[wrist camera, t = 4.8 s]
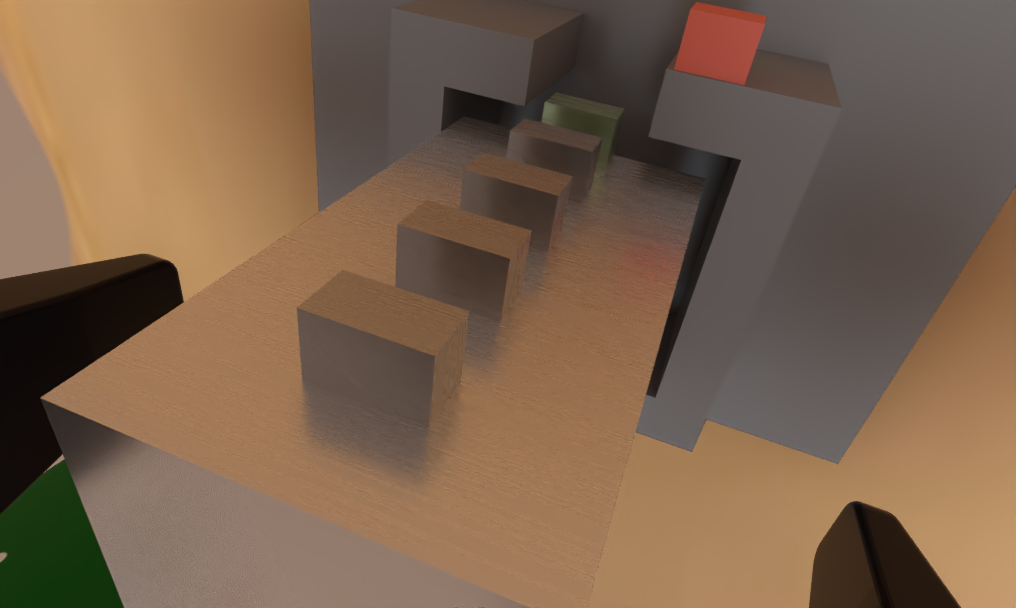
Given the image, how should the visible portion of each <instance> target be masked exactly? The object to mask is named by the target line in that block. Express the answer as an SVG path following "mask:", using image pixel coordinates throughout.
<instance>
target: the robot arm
mask: <svg viewBox="0 0 1016 608" xmlns="http://www.w3.org/2000/svg"><path fill="white" fill-rule="evenodd" d="M182 303H184V301H183V295H182V290H181V285H180V280H179V275H178V271H177V269H176V267H175V266H174V264H173V263H171V262H170V261H168V260H165V259H162V258H159V257H156V256H153V255H150V254H137V255H132V256H126V257H121V258H115V259H110V260H104V261H99V262H93V263H88V264H82V265H77V266H71V267H66V268H60V269H55V270H49V271H44V272H38V273H32V274H27V275H21V276H16V277H11V278H5V279H0V515H1V514H2V513H3V512H4V511H5V510H6V509H7V508H8V507H9V506H10V505H11V504H12V503H13V502H14V501H15V500H16V499H17V498H18V497H19V496H20V495H21V494H22V493H23V492H24V491H25V490H26V489H28V488H29V487H30V486H31V485H32V484H33V483H34V482H35V481H36V480H37V479H38V478H39V477H40V476H41V475H42V474H43V473H44V472H45V471H46V470H47V469H48V468H49V467H50V466H51V465H52V464H53V463H54V462H55V461H56V460H57V459H58V458H59V457H60V456H61V455H62V451H61V449H60V446H59V444H58V441H57V439H56V436H55V434H54V431H53V429H52V426H51V424H50V421H49V419H48V416H47V414H46V411H45V409H44V406H43V404H42V401H41V399H40V398H41V397H42V396H44V395H45V394H47V393H48V392H50V391H51V390H53V389H54V388H56V387H57V386H59V385H60V384H62V383H63V382H65V381H66V380H68V379H69V378H71V377H72V376H74V375H75V374H77V373H78V372H80V371H81V370H83V369H84V368H86V367H87V366H89V365H90V364H92V363H93V362H95V361H96V360H98V359H99V358H101V357H103V356H104V355H106V354H107V353H109V352H110V351H112V350H113V349H115V348H116V347H118V346H119V345H121V344H122V343H124V342H125V341H127V340H128V339H130V338H131V337H133V336H134V335H136V334H137V333H139V332H140V331H142V330H143V329H145V328H146V327H148V326H149V325H151V324H152V323H154V322H155V321H157V320H158V319H160V318H161V317H163V316H164V315H166V314H167V313H169V312H170V311H172V310H173V309H175V308H176V307H178V306H179V305H181V304H182ZM809 608H961V607H960V605H959V604H958V603H957V601H956V600H955V598H954V597H953V596H952V594H951V593H950V591H949V590H948V589H947V587H946V586H945V584H944V583H943V582H942V580H941V579H940V577H939V576H938V575H937V573H936V572H935V570H934V569H933V568H932V566H931V565H930V563H929V562H928V561H927V559H926V558H925V557H924V555H923V554H922V552H921V551H920V550H919V548H918V547H917V545H916V544H915V543H914V541H913V540H912V538H911V537H910V536H909V534H908V533H907V531H906V530H905V529H904V527H903V526H902V524H901V523H900V522H899V520H898V519H897V518H896V517H895V516H894V515H893V514H891V513H889V512H887V511H885V510H882V509H879V508H876V507H873V506H870V505H868V504H865V503H862V502H858V501H854V502H850V503H849V504H848V505H846V507H845V508H844V509H843V510H842V512H841V513H840V515H839V516H838V518H837V519H836V521H835V522H834V523H833V525H832V526H831V528H830V529H829V531H828V532H827V534H826V535H825V537H824V538H823V539H822V541H821V542H820V544H819V546H818V548H817V551H816V554H815V558H814V563H813V573H812V582H811V592H810V602H809Z"/></svg>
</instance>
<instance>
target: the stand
mask: <svg viewBox="0 0 1016 608" xmlns="http://www.w3.org/2000/svg"><path fill="white" fill-rule="evenodd" d="M310 22H311V44H312V66H313V89H314V111H315V133H316V155H317V178H318V200H319V212H321V211H322V210H324V209H325V208H327V207H328V206H330V205H331V204H333V203H334V202H336V201H337V200H339V199H340V198H342V197H343V196H345V195H346V194H348V193H349V192H351V191H352V190H354V189H355V188H357V187H358V186H360V185H361V184H363V183H365V182H366V181H368V180H369V179H371V178H372V177H374V176H375V175H377V174H378V173H380V172H381V171H383V170H384V169H386V168H387V167H389V166H390V165H392V164H393V163H395V162H396V161H398V160H399V159H401V158H402V157H404V156H405V155H407V154H408V153H410V152H411V151H413V150H414V149H416V148H417V147H419V146H420V145H422V144H423V143H425V142H426V141H428V140H429V139H431V138H432V137H434V136H435V135H437V134H438V133H440V132H441V131H443V130H444V129H446V128H447V127H449V126H450V125H452V124H453V123H455V122H456V121H458V120H459V119H461V118H462V117H468V118H472V119H476V120H480V121H484V122H488V123H492V124H495V125H499V126H503V127H507V128H511V129H513V128H514V127H515V126H516V125H518V124H519V123H520V122H521V121H522V120H524V119H525V118H526V119H530V120H534V121H538V122H542V116H543V109H544V103H545V101H547V100H548V99H549V98H550V97H551V96H553V95H554V94H555V93H556V92H557V93H561V94H565V95H569V96H573V97H577V98H582V99H586V100H590V101H594V102H598V103H602V104H607V105H611V106H615V107H619V108H623V109H625V111H624V115H623V120H622V124H621V128H620V132H619V136H618V141H617V145H616V149H615V153H614V154H613V155H616V156H620V157H624V158H628V159H632V160H635V161H639V162H643V163H647V164H651V165H655V166H659V167H663V168H667V169H670V170H674V171H678V172H682V173H686V174H690V175H694V176H698V177H702V178H705V183H704V187H703V190H702V194H701V197H700V201H699V205H698V208H697V212H696V215H695V219H694V223H693V226H692V230H691V233H690V237H689V241H688V244H687V248H686V252H685V255H684V259H683V262H682V266H681V270H680V273H679V277H678V280H677V284H676V288H675V291H674V295H673V298H672V302H671V306H670V309H669V313H668V316H667V320H666V324H665V327H664V331H663V334H662V338H661V342H660V345H659V349H658V353H657V356H656V360H655V363H654V367H653V371H652V374H651V378H650V381H649V385H648V389H647V392H646V396H645V399H644V403H643V407H642V410H641V414H640V417H639V421H638V425H637V428H636V433H639V434H642V435H645V436H648V437H651V438H653V439H656V440H659V441H662V442H665V443H668V444H670V445H673V446H676V447H679V448H682V449H685V450H687V451H690V452H692V451H693V449H694V446H695V444H696V442H697V440H698V437H699V435H700V433H701V430H702V428H703V426H704V424H705V421H706V419H707V420H710V421H713V422H715V423H718V424H721V425H724V426H727V427H730V428H733V429H736V430H739V431H742V432H745V433H748V434H751V435H754V436H757V437H760V438H763V439H766V440H769V441H772V442H774V443H777V444H780V445H783V446H786V447H789V448H792V449H795V450H798V451H801V452H804V453H807V454H810V455H813V456H816V457H819V458H822V459H825V460H828V461H831V462H833V463H836V464H838V463H839V462H840V460H841V458H842V457H843V455H844V454H845V452H846V451H847V449H848V448H849V446H850V444H851V443H852V441H853V440H854V438H855V437H856V435H857V433H858V432H859V430H860V429H861V427H862V426H863V424H864V423H865V421H866V419H867V418H868V416H869V415H870V413H871V412H872V410H873V408H874V407H875V405H876V404H877V402H878V401H879V399H880V398H881V396H882V394H883V393H884V391H885V390H886V388H887V387H888V385H889V383H890V382H891V380H892V379H893V377H894V376H895V374H896V373H897V371H898V369H899V368H900V366H901V365H902V363H903V362H904V360H905V358H906V357H907V355H908V354H909V352H910V351H911V349H912V348H913V346H914V344H915V343H916V341H917V340H918V338H919V337H920V335H921V333H922V332H923V330H924V329H925V327H926V326H927V324H928V323H929V321H930V319H931V318H932V316H933V315H934V313H935V312H936V310H937V308H938V307H939V305H940V304H941V302H942V301H943V299H944V297H945V296H946V294H947V293H948V291H949V290H950V288H951V287H952V285H953V283H954V282H955V280H956V279H957V277H958V276H959V274H960V272H961V271H962V269H963V268H964V266H965V265H966V263H967V262H968V260H969V258H970V257H971V255H972V254H973V252H974V251H975V249H976V247H977V246H978V244H979V243H980V241H981V240H982V238H983V237H984V235H985V233H986V232H987V230H988V229H989V227H990V226H991V224H992V222H993V221H994V219H995V218H996V216H997V215H998V213H999V212H1000V210H1001V208H1002V207H1003V205H1004V204H1005V202H1006V201H1007V199H1008V197H1009V196H1010V194H1011V193H1012V191H1013V190H1014V188H1015V187H1016V0H310Z"/></svg>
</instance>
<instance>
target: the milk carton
mask: <svg viewBox="0 0 1016 608" xmlns="http://www.w3.org/2000/svg"><path fill="white" fill-rule="evenodd" d="M0 608H124V606H123V603H122V601H121V598H120V596H119V593H118V591H117V588H116V586H115V583H114V581H113V578H112V576H111V573H110V571H109V568H108V566H107V563H106V561H105V558H104V556H103V553H102V551H101V548H100V546H99V543H98V541H97V538H96V536H95V533H94V531H93V528H92V526H91V523H90V521H89V518H88V516H87V513H86V511H85V508H84V506H83V503H82V501H81V498H80V496H79V493H78V491H77V488H76V486H75V483H74V481H73V479H72V476H71V474H70V471H69V469H68V466H67V464H66V461H65V459H64V460H63V461H61V462H60V463H58V464H57V465H55V466H53V467H52V468H51V469H49V470H48V471H46V472H45V473H43V474H42V475H41V476H40V477H39V478H38V479H37V480H36V481H35V482H34V483H33V484H32V485H31V486H30V487H29V488H28V489H26V490H25V491H24V492H23V493H22V494H21V495H20V496H19V497H18V498H17V499H16V500H15V501H14V502H13V503H12V504H11V505H10V506H9V507H8V508H7V509H6V510H5V511H4V512H3V513H2V514H1V515H0Z"/></svg>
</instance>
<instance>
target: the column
mask: <svg viewBox="0 0 1016 608" xmlns="http://www.w3.org/2000/svg"><path fill="white" fill-rule="evenodd" d="M624 111H625V109H623V108H619V107H615V106H611V105H607V104H602V103H598V102H594V101H590V100H586V99H582V98H577V97H573V96H569V95H565V94H561V93H557V92H556V93H555V94H554V95H553V96H551V97H550V98H549V99H548V100H547V101H545V103H544V109H543V116H542V122H538V121H534V120H530V119H526V118H525V119H524V120H522V121H521V122H520V123H519V124H518V125H516V126H515V127H514V128H513V129H511V128H507V127H503V126H499V125H495V124H492V123H488V122H484V121H480V120H476V119H472V118H468V117H462V118H461V119H459V120H458V121H456V122H455V123H453V124H452V125H450V126H449V127H447V128H446V129H444V130H443V131H441V132H440V133H438V134H437V135H435V136H434V137H432V138H431V139H429V140H428V141H426V142H425V143H423V144H422V145H420V146H419V147H417V148H416V149H414V150H413V151H411V152H410V153H408V154H407V155H405V156H404V157H402V158H401V159H399V160H398V161H396V162H395V163H393V164H392V165H390V166H389V167H387V168H386V169H384V170H383V171H381V172H380V173H378V174H377V175H375V176H374V177H372V178H371V179H369V180H368V181H366V182H365V183H363V184H361V185H360V186H358V187H357V188H355V189H354V190H352V191H351V192H349V193H348V194H346V195H345V196H343V197H342V198H340V199H339V200H337V201H336V202H334V203H333V204H331V205H330V206H328V207H327V208H325V209H324V210H322V211H321V212H319V213H318V214H316V215H315V216H313V217H312V218H310V219H309V220H307V221H306V222H304V223H303V224H301V225H300V226H298V227H297V228H295V229H294V230H292V231H291V232H289V233H288V234H286V235H285V236H283V237H282V238H280V239H279V240H277V241H276V242H274V243H273V244H271V245H270V246H268V247H267V248H265V249H264V250H262V251H261V252H259V253H258V254H256V255H255V256H253V257H252V258H250V259H249V260H247V261H246V262H244V263H243V264H241V265H240V266H238V267H237V268H235V269H234V270H232V271H230V272H229V273H227V274H226V275H224V276H223V277H221V278H220V279H218V280H217V281H215V282H214V283H212V284H211V285H209V286H208V287H206V288H205V289H203V290H202V291H200V292H199V293H197V294H196V295H194V296H193V297H191V298H190V299H188V300H187V301H185V302H184V303H182V304H181V305H179V306H178V307H176V308H175V309H173V310H172V311H170V312H169V313H167V314H166V315H164V316H163V317H161V318H160V319H158V320H157V321H155V322H154V323H152V324H151V325H149V326H148V327H146V328H145V329H143V330H142V331H140V332H139V333H137V334H136V335H134V336H133V337H131V338H130V339H128V340H127V341H125V342H124V343H122V344H121V345H119V346H118V347H116V348H115V349H113V350H112V351H110V352H109V353H107V354H106V355H104V356H103V357H101V358H99V359H98V360H96V361H95V362H93V363H92V364H90V365H89V366H87V367H86V368H84V369H83V370H81V371H80V372H78V373H77V374H75V375H74V376H72V377H71V378H69V379H68V380H66V381H65V382H63V383H62V384H60V385H59V386H57V387H56V388H54V389H53V390H51V391H50V392H48V393H47V394H45V395H44V396H42V397H41V398H40V399H41V401H42V404H43V406H44V409H45V411H46V414H47V416H48V419H49V421H50V424H51V426H52V429H53V431H54V434H55V436H56V439H57V441H58V444H59V446H60V449H61V451H62V454H63V456H64V458H65V461H66V464H67V466H68V469H69V471H70V474H71V476H72V479H73V481H74V483H75V486H76V488H77V491H78V493H79V496H80V498H81V501H82V503H83V506H84V508H85V511H86V513H87V516H88V518H89V521H90V523H91V526H92V528H93V531H94V533H95V536H96V538H97V541H98V543H99V546H100V548H101V551H102V553H103V556H104V558H105V561H106V563H107V566H108V568H109V571H110V573H111V576H112V578H113V581H114V583H115V586H116V588H117V591H118V593H119V596H120V598H121V601H122V603H123V606H124V608H587V605H588V602H589V598H590V594H591V591H592V587H593V583H594V580H595V576H596V573H597V569H598V565H599V562H600V558H601V555H602V551H603V547H604V544H605V540H606V537H607V533H608V529H609V526H610V522H611V519H612V515H613V511H614V508H615V504H616V500H617V497H618V493H619V490H620V486H621V482H622V479H623V475H624V472H625V468H626V464H627V461H628V457H629V454H630V450H631V446H632V443H633V439H634V436H635V432H636V428H637V425H638V421H639V417H640V414H641V410H642V407H643V403H644V399H645V396H646V392H647V389H648V385H649V381H650V378H651V374H652V371H653V367H654V363H655V360H656V356H657V353H658V349H659V345H660V342H661V338H662V334H663V331H664V327H665V324H666V320H667V316H668V313H669V309H670V306H671V302H672V298H673V295H674V291H675V288H676V284H677V280H678V277H679V273H680V270H681V266H682V262H683V259H684V255H685V252H686V248H687V244H688V241H689V237H690V233H691V230H692V226H693V223H694V219H695V215H696V212H697V208H698V205H699V201H700V197H701V194H702V190H703V187H704V183H705V178H702V177H698V176H694V175H690V174H686V173H682V172H678V171H674V170H670V169H667V168H663V167H659V166H655V165H651V164H647V163H643V162H639V161H635V160H632V159H628V158H624V157H620V156H616V155H613V154H614V153H615V149H616V145H617V141H618V136H619V132H620V128H621V124H622V120H623V115H624Z"/></svg>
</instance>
